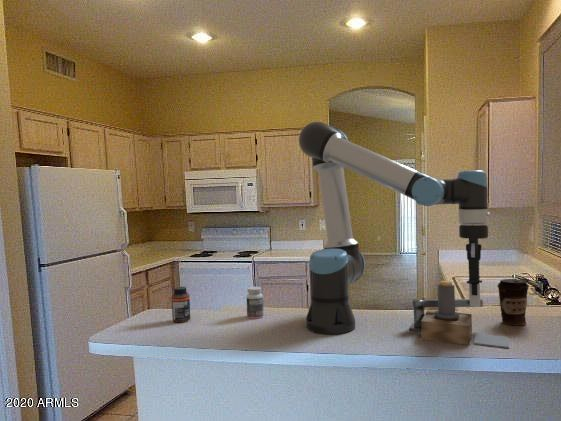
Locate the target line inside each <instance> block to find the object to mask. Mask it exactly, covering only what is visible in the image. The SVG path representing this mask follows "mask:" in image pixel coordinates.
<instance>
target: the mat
mask: <svg viewBox="0 0 561 421" xmlns="http://www.w3.org/2000/svg"><path fill="white" fill-rule="evenodd" d="M473 344H474V345H477V346H486V347H493V348H494V347H495V348H503V349H510V342H509V337H508V336H501V335H500V336H499V335H491V334H483V333H475V335H474V342H473Z"/></svg>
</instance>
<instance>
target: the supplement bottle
mask: <svg viewBox="0 0 561 421" xmlns="http://www.w3.org/2000/svg"><path fill="white" fill-rule="evenodd" d="M173 292H174V293H173V294H172V295H171V313H172V314H171V315H172V316H171V317H172V322H173V323H175V322H184V323H186V322H185V321H187V322H189V321H190V320H191V300H190V293H189V292H188V291H187V287H186V286H176V287H174V288H173ZM188 320H189V321H188Z"/></svg>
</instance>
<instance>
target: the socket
mask: <svg viewBox="0 0 561 421" xmlns="http://www.w3.org/2000/svg"><path fill="white" fill-rule="evenodd" d="M435 311H436V310H429V309H427V310H426V312H424V317H423V319H422V320H421V331H420V332H421V335H420V336H421V340H427V341H435V342H443V343H450V344H458V345H466V346H467V345H468V346H470V345H471V339H472V332H473V326H472V325H473V323H472V321H473V320H472V313H463V312H458V313H459V319H456V320H455V321H450V320H440V319H438V318H436V317H435V313H434V312H435Z"/></svg>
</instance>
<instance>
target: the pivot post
mask: <svg viewBox="0 0 561 421" xmlns="http://www.w3.org/2000/svg"><path fill="white" fill-rule="evenodd" d="M424 315H425V308H414V307H413V322H412V323H411V324H410V326H409V327H408V330H409V331H414V330H415V332H421V320H422V319H423V317H424Z"/></svg>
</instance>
